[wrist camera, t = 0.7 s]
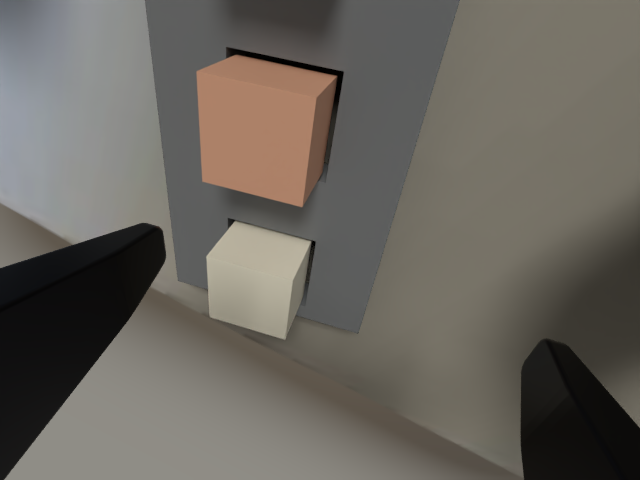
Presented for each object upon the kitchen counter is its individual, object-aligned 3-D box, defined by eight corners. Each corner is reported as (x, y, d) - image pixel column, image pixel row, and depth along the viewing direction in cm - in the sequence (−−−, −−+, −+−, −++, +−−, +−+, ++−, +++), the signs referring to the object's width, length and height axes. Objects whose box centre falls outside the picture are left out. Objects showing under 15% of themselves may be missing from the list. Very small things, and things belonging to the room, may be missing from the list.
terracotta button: (337, 75, 16) (316, 97, 13) (322, 172, 18) (302, 207, 16) (236, 54, 16) (196, 71, 13) (236, 151, 19) (202, 181, 16)
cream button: (311, 240, 21) (292, 280, 18) (302, 297, 23) (285, 339, 21) (235, 219, 21) (206, 256, 19) (235, 277, 24) (209, 317, 21)
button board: (540, -280, 11) (558, -324, 9) (363, 310, 25) (358, 333, 23) (147, -317, 12) (102, -360, 10) (193, 262, 26) (178, 280, 25)
